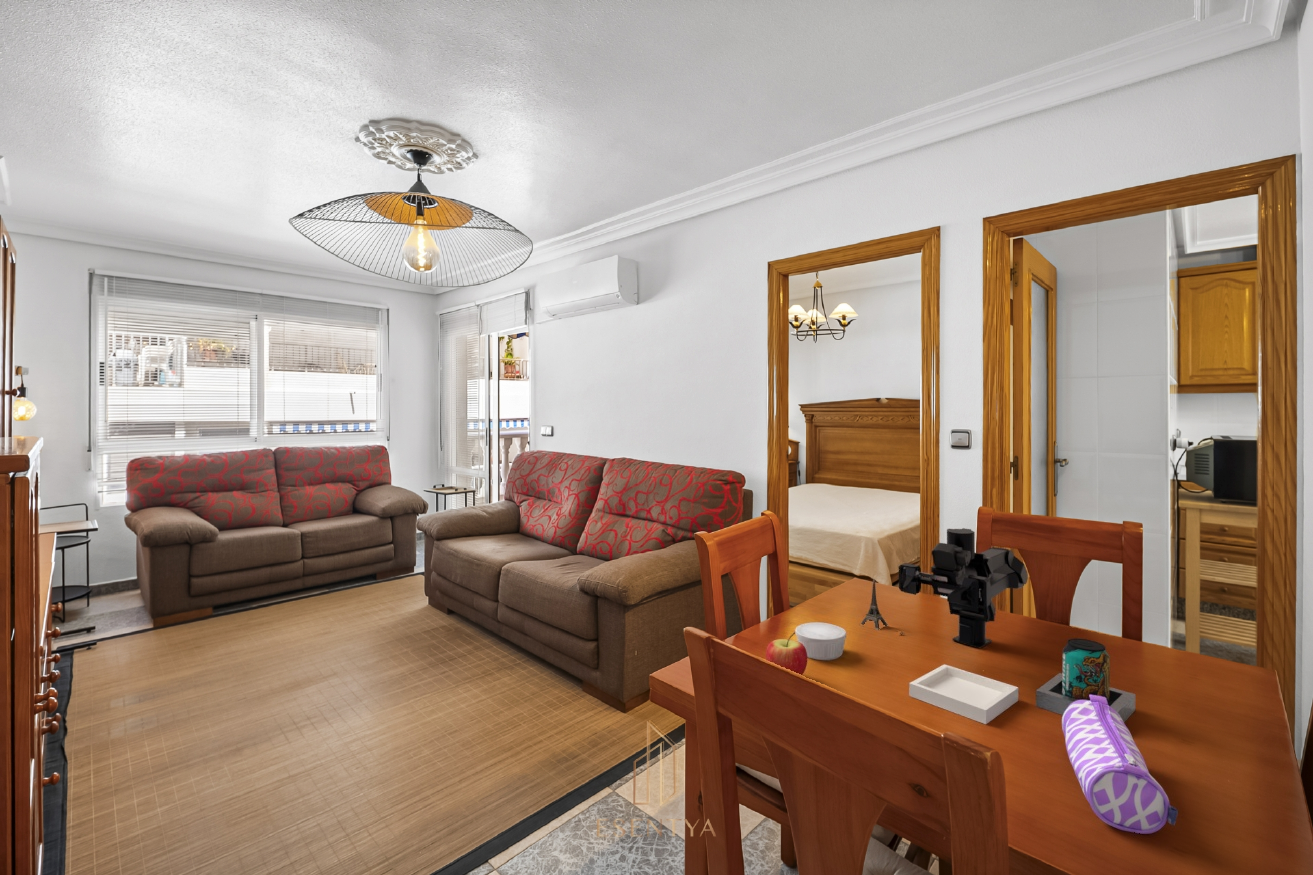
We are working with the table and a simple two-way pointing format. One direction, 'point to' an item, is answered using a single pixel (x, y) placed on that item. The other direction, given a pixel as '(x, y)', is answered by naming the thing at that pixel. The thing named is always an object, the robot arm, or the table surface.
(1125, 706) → the collar
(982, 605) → the robot arm
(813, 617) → the table surface
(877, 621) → the eiffel tower figurine
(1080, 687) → the beverage can
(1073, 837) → the table surface
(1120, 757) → the pencil case
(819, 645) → the ramekin
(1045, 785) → the table surface
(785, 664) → the apple
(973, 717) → the tray
